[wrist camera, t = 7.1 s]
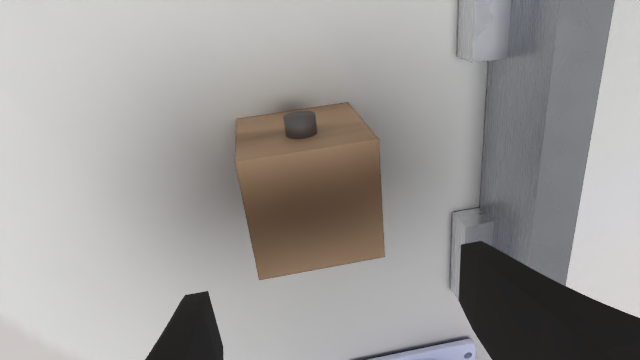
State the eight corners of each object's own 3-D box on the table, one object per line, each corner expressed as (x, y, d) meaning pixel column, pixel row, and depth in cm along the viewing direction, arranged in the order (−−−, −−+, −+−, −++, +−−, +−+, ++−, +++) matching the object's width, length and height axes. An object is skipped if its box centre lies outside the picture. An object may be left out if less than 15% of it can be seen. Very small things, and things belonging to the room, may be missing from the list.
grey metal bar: (507, 276, 26) (557, 333, 22) (450, 287, 25) (489, 347, 21) (538, -27, 19) (619, -26, 15) (459, -17, 18) (519, -14, 14)
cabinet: (355, 199, 22) (384, 256, 18) (255, 216, 22) (259, 280, 17) (346, 86, 20) (377, 119, 15) (233, 102, 19) (230, 142, 15)
